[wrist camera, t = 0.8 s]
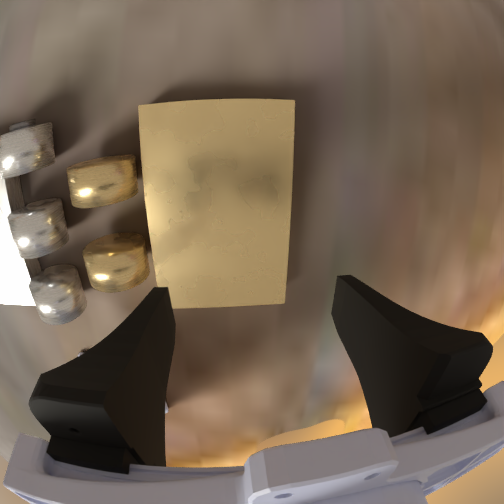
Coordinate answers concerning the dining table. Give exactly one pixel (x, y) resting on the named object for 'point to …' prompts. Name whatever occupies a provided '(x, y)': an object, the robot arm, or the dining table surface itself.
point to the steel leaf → (34, 231)
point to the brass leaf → (199, 202)
